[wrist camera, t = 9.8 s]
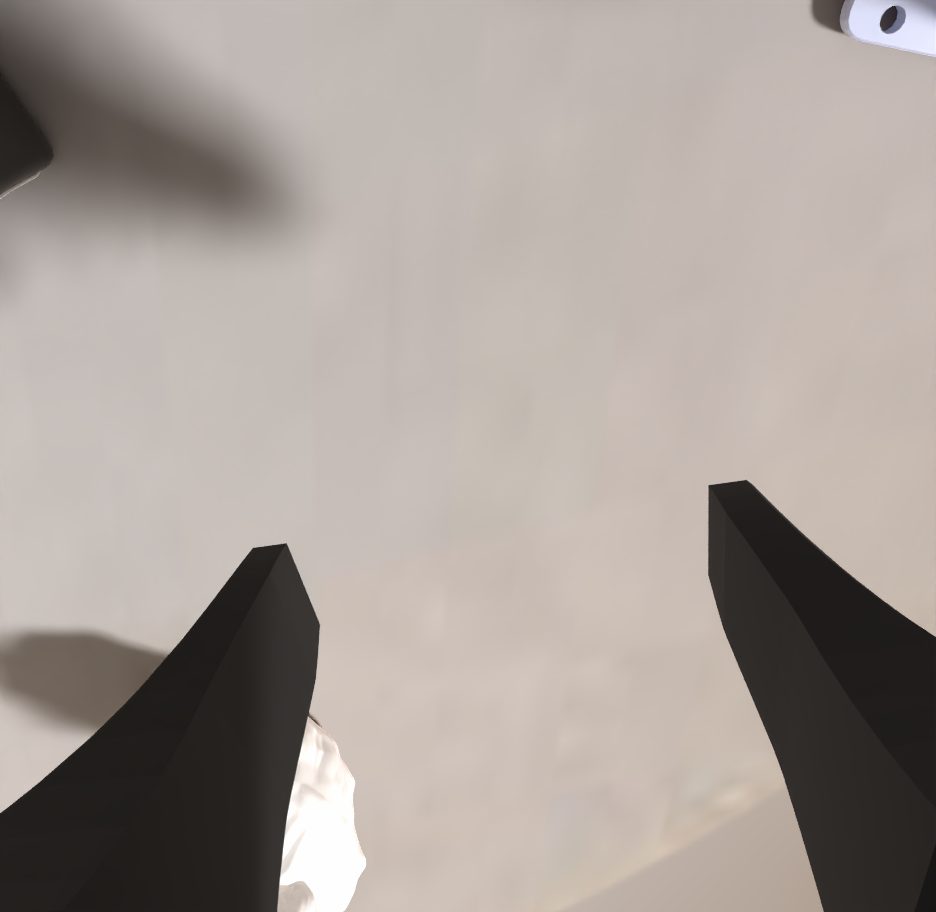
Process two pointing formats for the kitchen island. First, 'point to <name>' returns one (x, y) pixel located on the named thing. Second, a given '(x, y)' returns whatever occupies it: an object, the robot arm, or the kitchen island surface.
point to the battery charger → (19, 144)
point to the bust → (320, 831)
